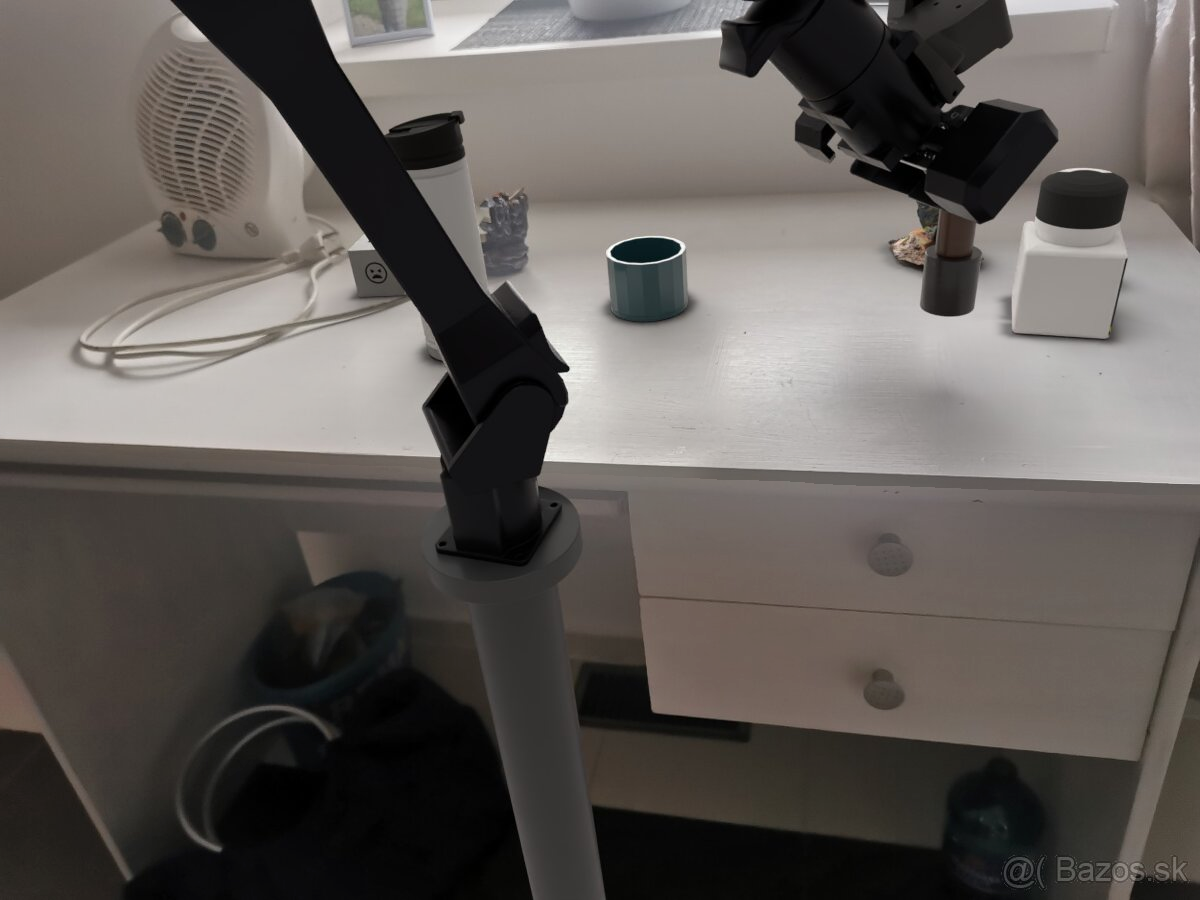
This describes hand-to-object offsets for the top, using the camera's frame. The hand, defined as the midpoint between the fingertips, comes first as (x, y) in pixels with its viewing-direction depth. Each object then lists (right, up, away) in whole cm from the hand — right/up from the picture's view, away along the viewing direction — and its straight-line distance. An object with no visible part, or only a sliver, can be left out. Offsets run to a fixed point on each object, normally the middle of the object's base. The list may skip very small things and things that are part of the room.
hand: (975, 210), depth 61 cm
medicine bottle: (+13, -5, +15) cm, 21 cm away
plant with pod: (+8, +2, +28) cm, 29 cm away
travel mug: (-37, -7, +21) cm, 43 cm away
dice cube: (-47, +1, +35) cm, 59 cm away
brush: (-1, -6, +3) cm, 7 cm away
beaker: (-20, -2, +25) cm, 32 cm away
